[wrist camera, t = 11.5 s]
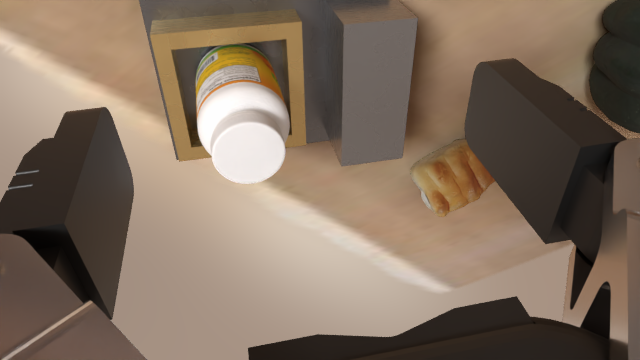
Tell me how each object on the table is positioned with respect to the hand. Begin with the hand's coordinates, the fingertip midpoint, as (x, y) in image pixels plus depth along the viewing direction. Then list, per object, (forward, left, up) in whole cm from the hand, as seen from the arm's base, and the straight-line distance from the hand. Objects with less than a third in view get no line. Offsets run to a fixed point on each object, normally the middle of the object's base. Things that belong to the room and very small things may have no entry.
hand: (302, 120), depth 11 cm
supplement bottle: (+1, +9, -22) cm, 24 cm away
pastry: (-18, +21, -24) cm, 37 cm away
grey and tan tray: (-2, +9, -24) cm, 25 cm away
